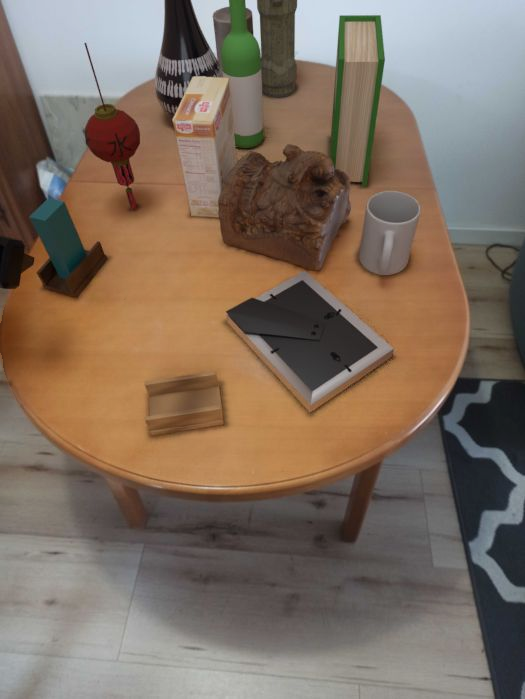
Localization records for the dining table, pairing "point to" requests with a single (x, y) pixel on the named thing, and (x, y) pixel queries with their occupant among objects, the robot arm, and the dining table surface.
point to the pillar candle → (226, 27)
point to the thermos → (278, 47)
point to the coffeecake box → (205, 141)
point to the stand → (184, 403)
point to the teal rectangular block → (58, 236)
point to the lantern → (113, 140)
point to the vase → (182, 55)
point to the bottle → (243, 78)
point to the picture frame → (308, 339)
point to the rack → (73, 273)
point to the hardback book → (356, 94)
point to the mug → (388, 232)
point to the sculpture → (285, 206)
